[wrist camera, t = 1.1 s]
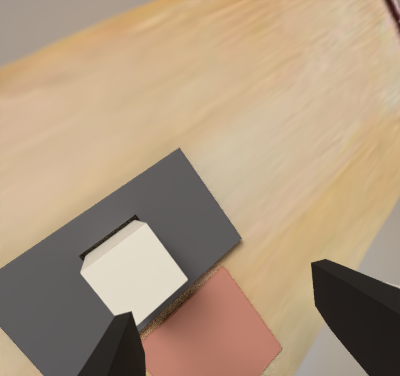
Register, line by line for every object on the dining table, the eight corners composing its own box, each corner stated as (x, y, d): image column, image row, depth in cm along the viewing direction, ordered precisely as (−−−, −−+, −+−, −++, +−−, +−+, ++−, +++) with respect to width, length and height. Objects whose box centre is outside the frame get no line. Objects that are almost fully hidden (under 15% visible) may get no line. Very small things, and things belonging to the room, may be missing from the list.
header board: (66, 391, 18) (64, 399, 17) (-27, 287, 16) (-33, 290, 16) (237, 237, 23) (241, 238, 22) (176, 149, 22) (179, 147, 21)
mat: (202, 436, 20) (204, 440, 20) (132, 349, 19) (133, 352, 19) (279, 345, 23) (282, 348, 23) (222, 266, 22) (224, 267, 22)
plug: (120, 298, 19) (128, 333, 14) (86, 254, 19) (79, 272, 13) (164, 261, 21) (188, 279, 15) (133, 219, 20) (146, 223, 15)
